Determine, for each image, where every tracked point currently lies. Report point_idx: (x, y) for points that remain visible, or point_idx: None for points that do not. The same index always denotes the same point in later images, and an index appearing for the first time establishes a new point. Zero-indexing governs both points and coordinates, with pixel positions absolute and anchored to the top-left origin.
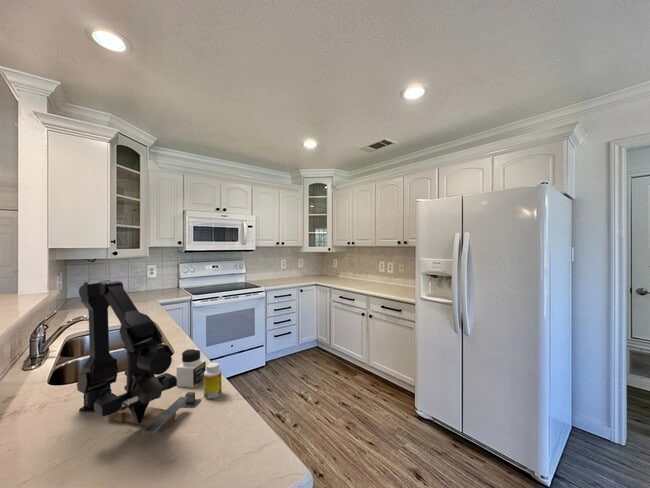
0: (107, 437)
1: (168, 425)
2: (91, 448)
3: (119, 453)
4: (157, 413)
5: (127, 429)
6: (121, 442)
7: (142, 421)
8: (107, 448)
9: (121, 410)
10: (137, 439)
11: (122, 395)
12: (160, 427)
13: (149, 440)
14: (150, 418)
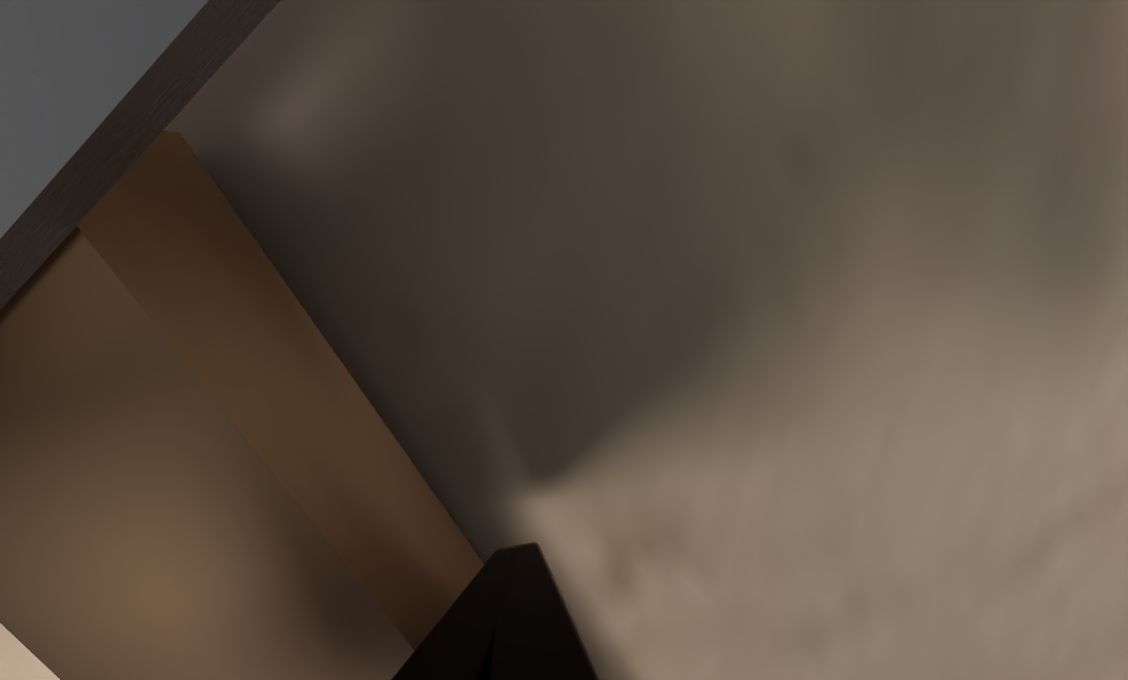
0: (883, 592)
1: None
2: (1095, 489)
3: (918, 36)
4: (142, 554)
5: (651, 596)
6: (801, 336)
7: (462, 586)
8: (977, 332)
9: None
10: (609, 229)
11: None
12: (225, 219)
13: (462, 26)
14: (315, 494)
